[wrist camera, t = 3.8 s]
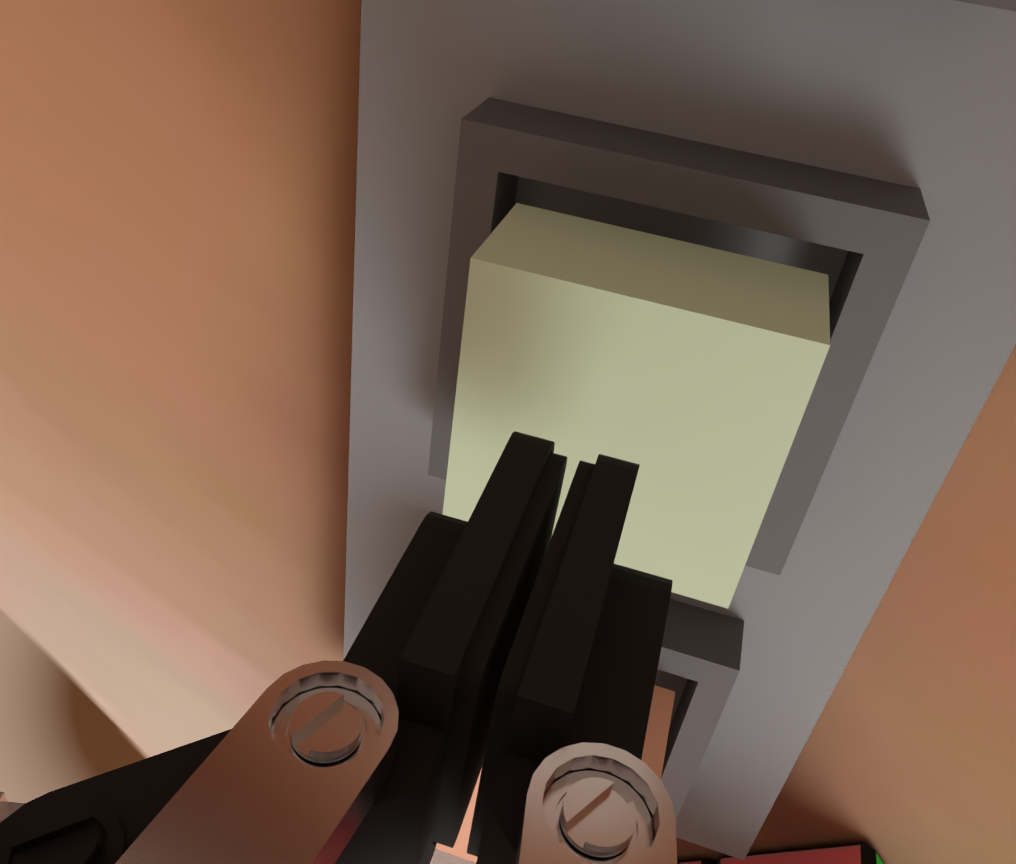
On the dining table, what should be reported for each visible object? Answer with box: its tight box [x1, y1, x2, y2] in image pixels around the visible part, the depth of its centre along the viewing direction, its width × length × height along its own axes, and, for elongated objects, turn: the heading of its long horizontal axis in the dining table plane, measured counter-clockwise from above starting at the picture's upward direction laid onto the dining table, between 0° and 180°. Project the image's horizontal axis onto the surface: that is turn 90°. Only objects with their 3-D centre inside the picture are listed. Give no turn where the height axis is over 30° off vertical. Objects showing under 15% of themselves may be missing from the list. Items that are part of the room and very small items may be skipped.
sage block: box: [442, 203, 830, 609], centre depth 14 cm, size 5×5×2 cm
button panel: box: [343, 0, 1016, 860], centre depth 17 cm, size 12×30×4 cm, turn 172°
